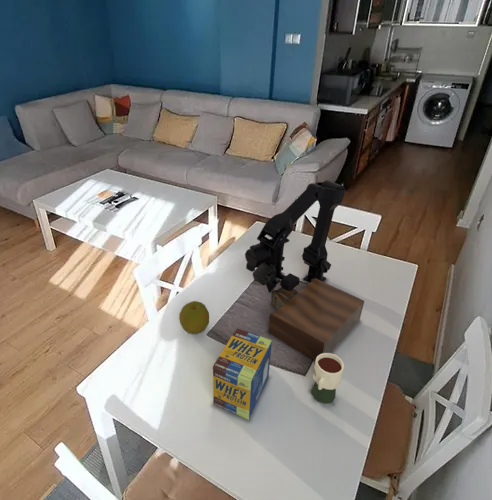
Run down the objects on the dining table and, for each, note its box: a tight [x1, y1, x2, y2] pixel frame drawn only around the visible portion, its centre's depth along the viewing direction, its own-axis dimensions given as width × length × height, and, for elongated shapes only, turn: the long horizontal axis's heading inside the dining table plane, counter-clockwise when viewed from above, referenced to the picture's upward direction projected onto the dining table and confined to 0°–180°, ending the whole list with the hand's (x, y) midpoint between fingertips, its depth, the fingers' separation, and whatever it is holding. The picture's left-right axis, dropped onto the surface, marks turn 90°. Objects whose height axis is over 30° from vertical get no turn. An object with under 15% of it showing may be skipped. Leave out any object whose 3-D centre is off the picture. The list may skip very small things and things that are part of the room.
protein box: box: [212, 327, 273, 420], centre depth 102 cm, size 10×15×16 cm
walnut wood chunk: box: [268, 278, 365, 362], centre depth 124 cm, size 25×19×9 cm
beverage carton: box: [271, 287, 299, 310], centre depth 129 cm, size 8×19×7 cm, turn 26°
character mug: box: [310, 352, 345, 404], centre depth 101 cm, size 11×7×13 cm, turn 144°
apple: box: [178, 300, 210, 335], centre depth 125 cm, size 10×10×11 cm
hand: (270, 292), depth 135 cm, fingers closed
